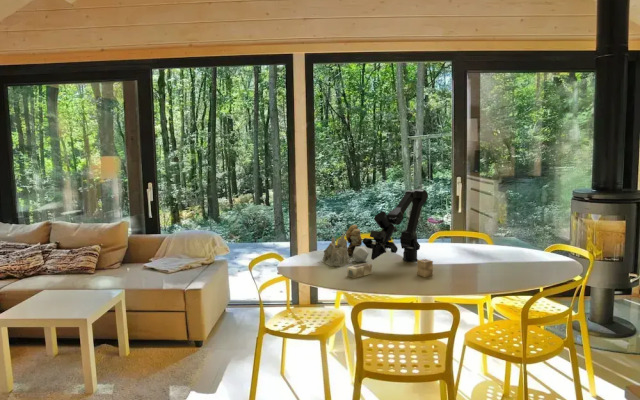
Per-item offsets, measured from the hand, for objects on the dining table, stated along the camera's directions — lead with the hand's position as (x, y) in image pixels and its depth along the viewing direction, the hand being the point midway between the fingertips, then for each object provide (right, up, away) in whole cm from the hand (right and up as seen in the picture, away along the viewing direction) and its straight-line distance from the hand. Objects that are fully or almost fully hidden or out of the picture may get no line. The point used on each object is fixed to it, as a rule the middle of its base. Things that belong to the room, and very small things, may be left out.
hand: (372, 259), depth 223 cm
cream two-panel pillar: (-2, -4, -2) cm, 5 cm away
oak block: (+24, -7, -7) cm, 26 cm away
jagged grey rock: (-18, -5, +20) cm, 27 cm away
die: (-4, -4, +22) cm, 23 cm away
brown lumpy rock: (-5, -2, +41) cm, 41 cm away
